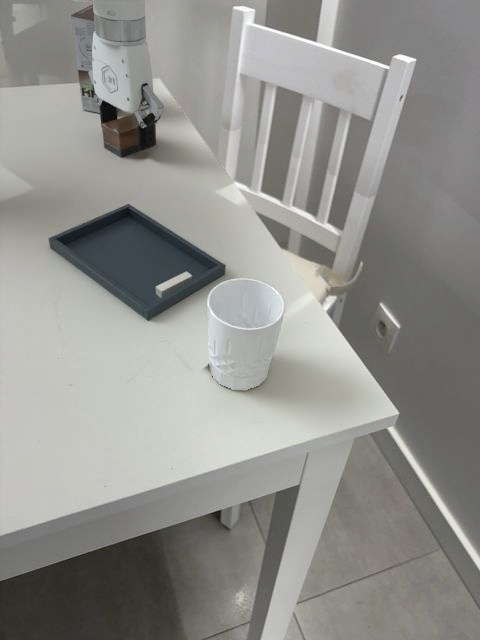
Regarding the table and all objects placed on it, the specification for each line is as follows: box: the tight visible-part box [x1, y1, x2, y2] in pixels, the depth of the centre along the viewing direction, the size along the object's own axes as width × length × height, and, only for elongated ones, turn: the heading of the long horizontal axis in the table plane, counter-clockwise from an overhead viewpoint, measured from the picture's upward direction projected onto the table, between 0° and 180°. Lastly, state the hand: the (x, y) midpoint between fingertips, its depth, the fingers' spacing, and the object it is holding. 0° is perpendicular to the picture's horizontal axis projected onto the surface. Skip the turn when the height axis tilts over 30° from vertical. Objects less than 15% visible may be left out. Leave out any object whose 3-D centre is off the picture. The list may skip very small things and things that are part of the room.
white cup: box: [206, 277, 286, 391], centre depth 59 cm, size 8×8×10 cm
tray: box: [48, 203, 226, 321], centre depth 73 cm, size 19×13×2 cm
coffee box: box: [70, 3, 120, 114], centre depth 102 cm, size 9×6×16 cm
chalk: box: [156, 271, 192, 298], centre depth 69 cm, size 1×5×1 cm
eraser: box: [101, 113, 157, 158], centre depth 95 cm, size 4×8×4 cm, turn 140°
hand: (128, 137), depth 95 cm, fingers open, 9 cm apart
